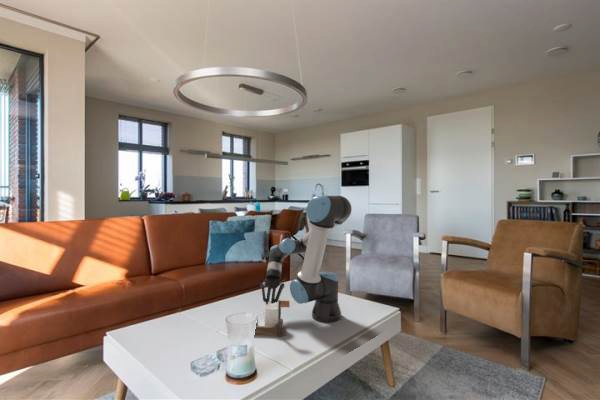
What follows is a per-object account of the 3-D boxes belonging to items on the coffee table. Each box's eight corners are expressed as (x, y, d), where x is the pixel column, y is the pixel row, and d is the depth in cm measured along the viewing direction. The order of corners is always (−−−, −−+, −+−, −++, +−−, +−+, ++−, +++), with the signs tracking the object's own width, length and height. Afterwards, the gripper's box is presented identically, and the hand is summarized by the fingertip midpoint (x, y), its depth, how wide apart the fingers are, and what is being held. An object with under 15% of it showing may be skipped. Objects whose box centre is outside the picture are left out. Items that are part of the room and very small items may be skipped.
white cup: (276, 323, 157) (278, 302, 157) (282, 329, 150) (284, 308, 150) (260, 324, 154) (262, 304, 154) (266, 331, 147) (268, 310, 146)
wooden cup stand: (250, 324, 155) (250, 291, 155) (291, 326, 154) (291, 293, 154) (244, 335, 144) (244, 299, 143) (289, 337, 142) (289, 301, 142)
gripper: (286, 276, 174) (282, 319, 158) (262, 275, 175) (256, 317, 159) (285, 269, 169) (281, 312, 153) (261, 268, 170) (254, 311, 154)
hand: (268, 315), depth 156 cm, fingers closed
